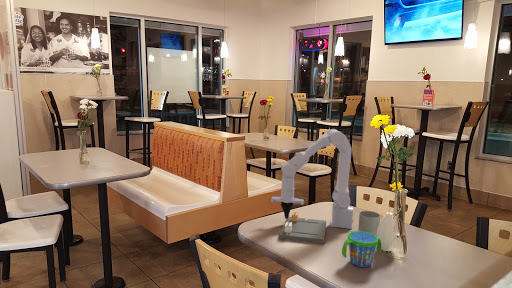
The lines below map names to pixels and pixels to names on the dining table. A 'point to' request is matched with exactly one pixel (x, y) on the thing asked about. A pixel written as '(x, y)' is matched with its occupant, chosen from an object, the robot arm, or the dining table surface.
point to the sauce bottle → (386, 230)
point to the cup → (369, 222)
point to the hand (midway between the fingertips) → (286, 217)
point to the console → (305, 230)
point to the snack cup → (361, 247)
